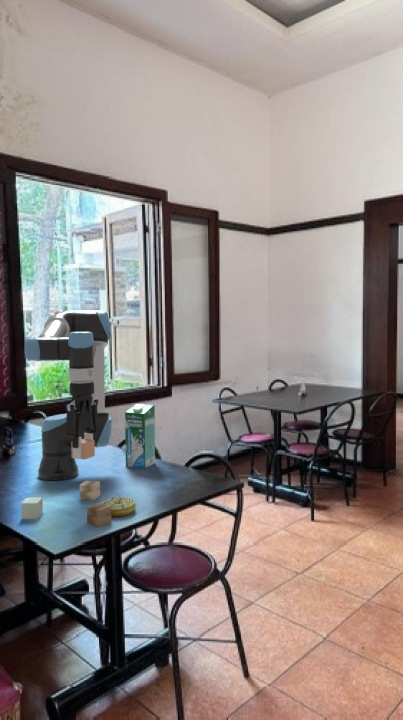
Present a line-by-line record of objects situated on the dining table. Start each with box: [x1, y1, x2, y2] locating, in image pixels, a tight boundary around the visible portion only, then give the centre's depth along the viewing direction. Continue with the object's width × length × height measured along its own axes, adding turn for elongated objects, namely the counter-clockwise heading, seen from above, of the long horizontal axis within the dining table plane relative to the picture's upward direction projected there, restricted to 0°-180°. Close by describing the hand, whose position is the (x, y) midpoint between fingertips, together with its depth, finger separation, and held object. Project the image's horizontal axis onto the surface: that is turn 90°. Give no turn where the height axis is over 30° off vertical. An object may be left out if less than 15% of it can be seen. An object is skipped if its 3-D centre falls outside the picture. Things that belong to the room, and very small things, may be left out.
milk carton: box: [124, 403, 156, 470], centre depth 212 cm, size 9×9×25 cm
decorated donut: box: [101, 496, 137, 518], centre depth 161 cm, size 10×11×4 cm
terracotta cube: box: [71, 439, 96, 461], centre depth 160 cm, size 5×5×5 cm
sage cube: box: [20, 497, 44, 520], centre depth 157 cm, size 5×5×5 cm
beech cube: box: [79, 480, 101, 501], centre depth 174 cm, size 5×5×5 cm
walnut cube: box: [86, 502, 112, 528], centre depth 152 cm, size 5×5×5 cm
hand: (83, 455), depth 160 cm, fingers closed on terracotta cube, 5 cm apart
